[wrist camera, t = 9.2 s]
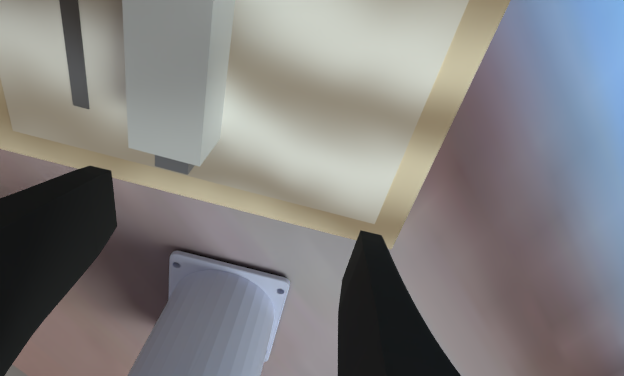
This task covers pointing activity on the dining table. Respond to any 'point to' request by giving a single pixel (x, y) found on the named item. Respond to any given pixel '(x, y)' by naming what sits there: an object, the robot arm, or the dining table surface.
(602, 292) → the dining table surface
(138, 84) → the eraser
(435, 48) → the cream rectangular tray
